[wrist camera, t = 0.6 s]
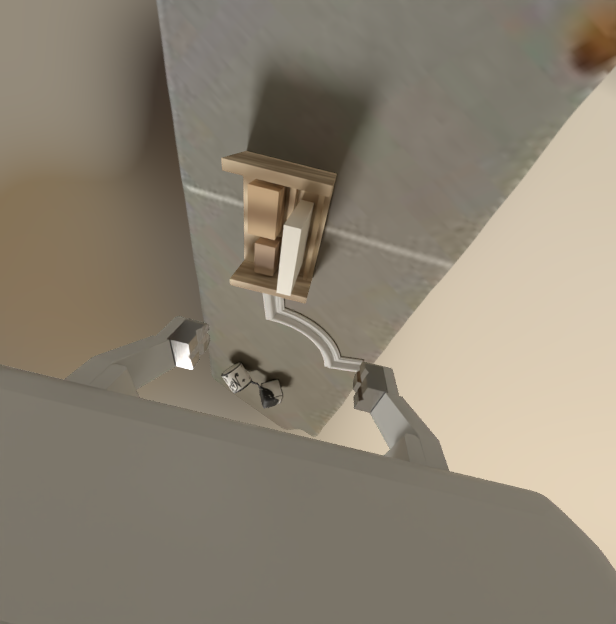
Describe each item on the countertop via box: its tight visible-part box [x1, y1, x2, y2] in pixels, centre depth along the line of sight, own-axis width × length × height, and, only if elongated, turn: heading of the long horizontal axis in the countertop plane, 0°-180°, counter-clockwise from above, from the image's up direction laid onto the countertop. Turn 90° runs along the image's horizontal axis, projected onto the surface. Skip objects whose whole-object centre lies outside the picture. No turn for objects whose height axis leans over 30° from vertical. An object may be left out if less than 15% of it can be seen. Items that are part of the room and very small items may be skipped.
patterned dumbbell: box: [221, 362, 283, 408], centre depth 81 cm, size 25×10×10 cm, turn 54°
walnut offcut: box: [254, 236, 282, 276], centre depth 45 cm, size 6×4×5 cm, turn 169°
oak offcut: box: [248, 179, 287, 240], centre depth 39 cm, size 8×5×6 cm, turn 170°
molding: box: [263, 293, 363, 372], centre depth 65 cm, size 42×12×3 cm, turn 43°
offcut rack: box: [221, 151, 337, 303], centre depth 41 cm, size 22×16×10 cm
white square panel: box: [276, 200, 314, 296], centre depth 39 cm, size 12×2×13 cm, turn 169°
